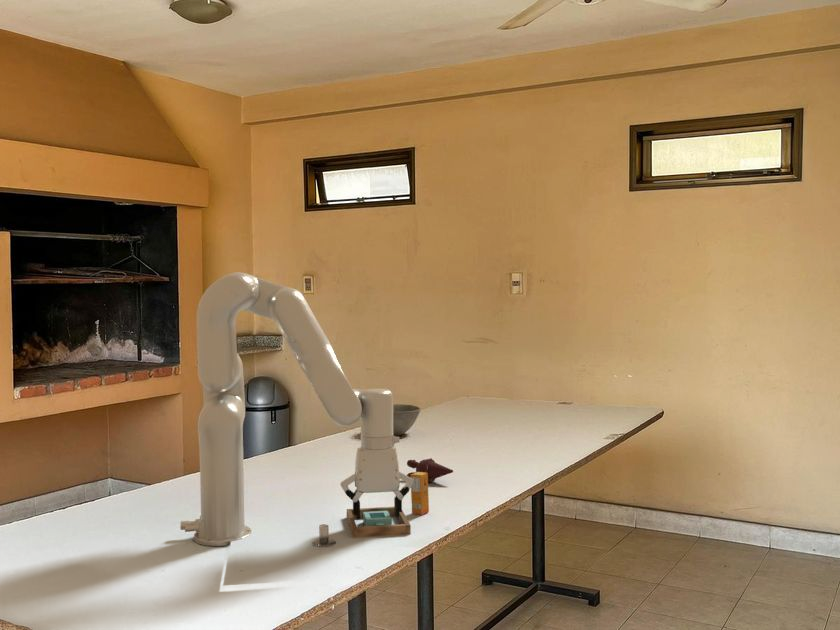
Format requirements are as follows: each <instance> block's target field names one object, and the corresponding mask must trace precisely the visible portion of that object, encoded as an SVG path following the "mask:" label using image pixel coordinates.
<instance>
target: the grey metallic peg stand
mask: <svg viewBox="0 0 840 630" xmlns="http://www.w3.org/2000/svg"><path fill="white" fill-rule="evenodd" d="M318 529H319V530H318V533H319V536H318V539H317V540H314V541H313V542H312V543H311V545H312V546H313V547H315V548H316V547H317V548H330V547H333V546H335V545H336V544H337V542H336V541H335V540H334V539H330V537H329V534H330V533H329V525H328V524H323V523H322V524H320V525H319V527H318Z"/></svg>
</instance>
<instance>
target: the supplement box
mask: <svg viewBox="0 0 840 630" xmlns="http://www.w3.org/2000/svg"><path fill="white" fill-rule="evenodd" d="M415 472H416V471H415ZM410 476H411V478H412V479H413V480H414V483H413V485H412V486H411V488H410V494H411V495H410V497H411V498H410V499H411V514H413V515H418V516H419V515H420V516H423V515H425V514H427V513H430V512H429V511H430V505H429V500H430V499H429V482H428V473H424V472H416V473H414V474H411V475H410Z"/></svg>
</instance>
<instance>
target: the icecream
mask: <svg viewBox="0 0 840 630" xmlns="http://www.w3.org/2000/svg"><path fill="white" fill-rule="evenodd" d="M406 465H407V467H409V468H412V469H415V471H414V472H409V473H407V474H406V475H407V476H408V477H410V478H411V476H410V475H411V474H414V473H416V472H424V473H428V483H432V482H435V481H436V479H437V478H438V479H439V478H441V477H443V476H447V475H449V474H452V473H454V470H453V469H451V468H449V467H446V466H444V465H442V464H440V463H437V462H436V461H435V460H434V459H433V458H432V457H430V458H426V459H422V460H420V461H419V462H418V461H416V460H415V459H409V460H407V461H406Z"/></svg>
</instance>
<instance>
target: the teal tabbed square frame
mask: <svg viewBox="0 0 840 630" xmlns="http://www.w3.org/2000/svg"><path fill="white" fill-rule="evenodd" d="M362 519H363V520H362V521H363V526H381V525H393V522H392V521H393V519H392V516H390V514H389V512H388V511H373V512H363V518H362Z"/></svg>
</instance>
